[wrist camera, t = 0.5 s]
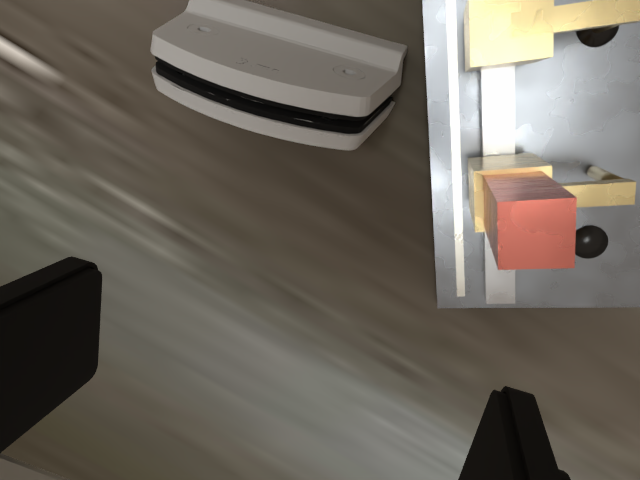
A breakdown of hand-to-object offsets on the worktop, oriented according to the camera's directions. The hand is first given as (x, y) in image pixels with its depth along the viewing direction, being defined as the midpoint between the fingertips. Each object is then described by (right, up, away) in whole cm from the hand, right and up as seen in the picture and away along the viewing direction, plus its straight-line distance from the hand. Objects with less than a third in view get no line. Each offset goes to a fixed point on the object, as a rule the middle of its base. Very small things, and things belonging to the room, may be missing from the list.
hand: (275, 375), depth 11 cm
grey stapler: (-1, +16, +26) cm, 30 cm away
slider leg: (+15, +7, +22) cm, 28 cm away
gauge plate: (+16, +10, +23) cm, 29 cm away
